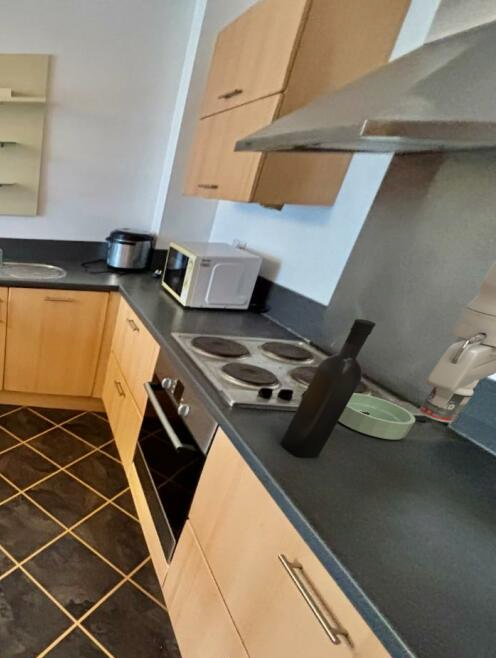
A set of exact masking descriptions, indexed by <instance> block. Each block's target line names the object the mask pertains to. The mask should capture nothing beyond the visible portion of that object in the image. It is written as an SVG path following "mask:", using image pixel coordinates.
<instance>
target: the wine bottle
mask: <svg viewBox="0 0 496 658" xmlns="http://www.w3.org/2000/svg"><path fill="white" fill-rule="evenodd" d="M374 327H376V322H374V321H371V320H368V319H362V318H357V319H355V320H354V321H353V324H352V325H351V327H350V332H349V333H348V335H347V337H346V339H345V342H344V343H343V346H342V347H341V348H340V350H339V353H337V354H333V355H330V356H328V357H326V358H325V359H323V360H322V361H321V362H320V363H319V364H318V366H317V368H316V370H315V372H314V373H313V375H312V378H311V380H310V382H309V384H308V386H307V388H306V390H305V392H304V394H303V396H302V397H301V400H300V403H299V404H298V407H297V408H296V410H295V412H294V415H293V416H292V419H291V420H290V423H289V425H288V427H287V428H286V431H285V433H284V435H283V437H282V439H281V441H280V444H281V445H282V447H284V448H285V449H286V450H287V451H289V453H291V454H292V455H293V456H294V457H296V458H319V457H320V455H321V453H322V451H323V450H324V448H325V446H326V444H327V442H328V440H329V439H330V437H331V435H332V433H333V431H334V429H335V427H336V425H337V424H338V422H339V421H338V420H339V418H340V417H341V415H342V413H343V411H344V409H345V408H346V406H347V404H348V402H349V400H350V398H351V397H352V395H353V393H355V391H356V389H357V388H358V386H359V384H360V382H361V380H362V378H363V372H364V369H363V366H362V364H361V363H360V361H359V360H358V356H359V355H360V352H361V351H362V348H363V347H364V345H365V343H366V341H367V340H368V337H369V336H370V335H372V332H373V330H374Z"/></svg>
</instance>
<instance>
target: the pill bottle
mask: <svg viewBox="0 0 496 658" xmlns="http://www.w3.org/2000/svg"><path fill="white" fill-rule="evenodd" d="M479 382H480V380H477V381H475V382H473V383H472V384H469V385H467V386H465V387H462V388H460V389H458V390H457V391H455V393H454V394H453V396H452V397H451V398H452V399H451V401H450V402H449V404H448V405H446V406H444V407H439V406H436V405H434V404H432V403H431V401H432V400H433V398H434V397H435V395H436V391H437V388H436V387H433V388H432V390H431V391H430V393H429V394H428V396H427V397H426V399H425V401H424V402H423V403H422V405H421V406H420V407H419V409H418V410H419V411H418V412H419V413H420V414H421V415H423V416H425V417H426V418H429V419H431V420H434V421H437V422H442V423H453V422H454V421H455V420H456V419H457V417H458V416H459V415H460V413H461V411H462V410H463V409H464V407H465V406H466V405H467V404H468V403H469V401H470V399H471V398H472V397H473V395H474V392H475V391H474V390H473V389H474V388H476V387H477V385H478V384H479Z"/></svg>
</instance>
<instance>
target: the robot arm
mask: <svg viewBox="0 0 496 658" xmlns="http://www.w3.org/2000/svg"><path fill="white" fill-rule="evenodd" d="M450 332H451V334H453V335H454V336H456V337H458V338H457V339H456V341H455V342H454V343H452V344H451V345H450V346H449V347H448V348H447V349H446V350H445V351H444V353H443V354H442V356H441V357H440V358H439V360H438V361H437V363H436V364H435V365H434V367H433V369H432V370H431V371H430V373H429V375H428V376H427V378H426V384H427V385H429V386H431V387H433V388H434V387H436V388H437V391H436V395H435V397H434V398H433V400H432V401H431V403H432V404H434V405H436V406H439V407H444V406H446V405H448V404H449V402H450V401H451V399H452V398H451V397H452V396H453V394H454V393H455V391H457V390H458V389H460V388H462V387H465V386H467V385H469V384H472V383H473V382H475V381H477V380H479V381H481V380H483V379H486V378H488V377H490V376H492V375H495V374H496V259H495V260H494V262H493V263H492V264H491V266H490V267H489V270H488V271H487V273H486V274H485V275H484V277H483V278H482V281H481V284H480V289H479V291H478V293H477V294H476V296H475V297H474V298H473V299H472V300H470V301H469V302H468V303H467V305H466V307H465V308H464V309H463V311H462V313H461V315H460V317H459V318H458V319H457V321H456V323H455V324H454V326H453V327H452V329H451V331H450Z"/></svg>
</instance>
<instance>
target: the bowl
mask: <svg viewBox="0 0 496 658" xmlns="http://www.w3.org/2000/svg"><path fill="white" fill-rule="evenodd" d="M357 410H362V411H366V412H368V413H370V414H369V415H367V414H364V413H362V412H360V411H357ZM338 422H339V423H340V424H343V425H344V426H346V427H347V428H349V429H351V430H354V431H356V432H359V433H361V434H363V435H368V436H371V437H375V438H379V439H385V440H392V441H393V440H402V439H404V438H405V437H407V435H408V434H409V432H410V430H411V429H412V427H413V426H414V425H415V422H416V417H415V415H413V413H412V412H410V411H409V410H407V409H406V408H404V407H401V406H399V405H398V404H396V403H393V402H391V401H388V400H386V399H384V398H381V397H377V396H373V395H369V394H364V393H358V392H354V393H353V395H352V397H351V398H350V400H349V402H348V404H347V406H346V408H345V409H344V411H343V413H342V415H341V417H340V418H339V420H338Z"/></svg>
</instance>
